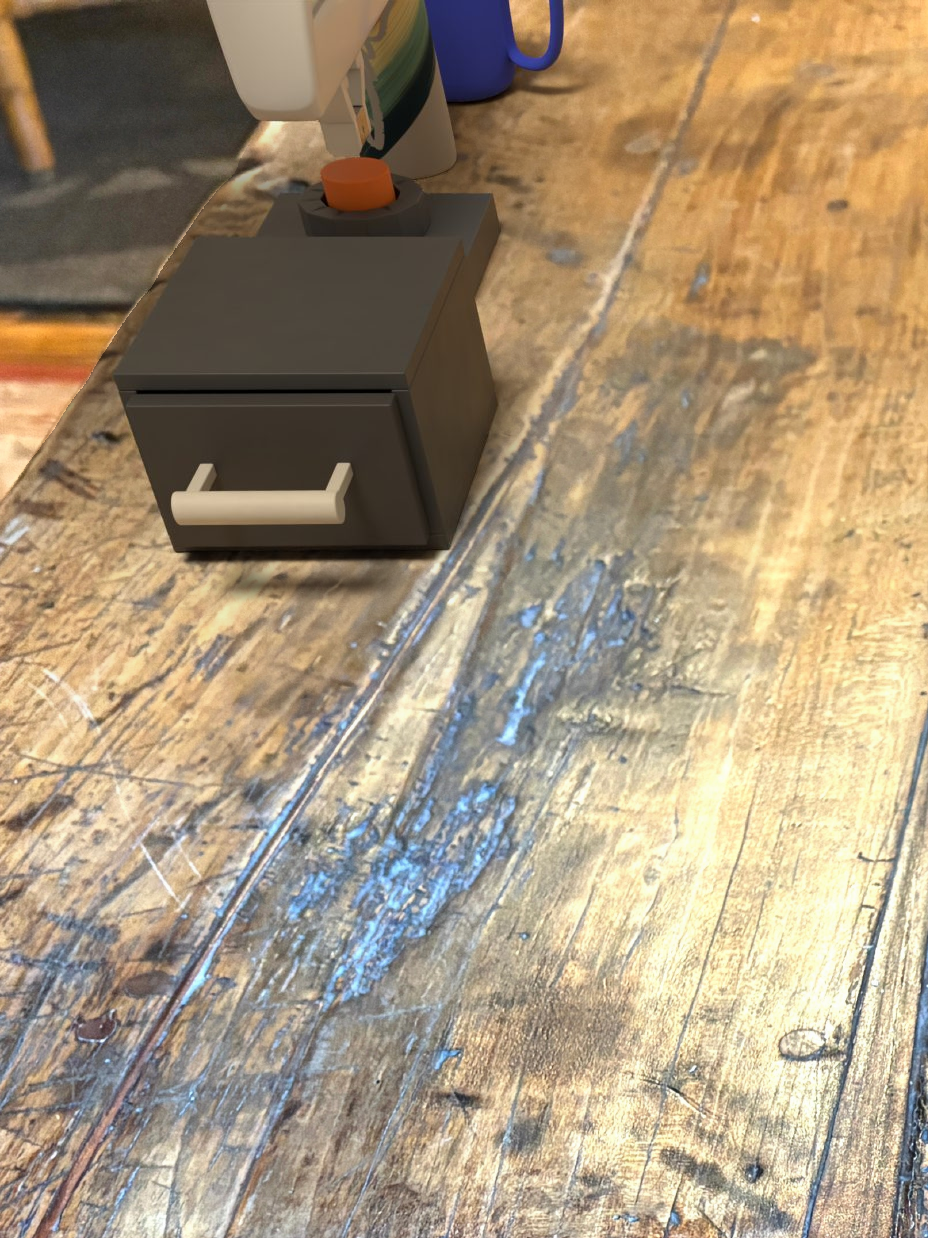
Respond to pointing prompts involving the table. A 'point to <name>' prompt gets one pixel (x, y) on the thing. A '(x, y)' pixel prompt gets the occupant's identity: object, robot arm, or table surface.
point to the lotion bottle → (406, 94)
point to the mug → (484, 46)
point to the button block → (394, 219)
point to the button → (357, 184)
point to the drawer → (280, 467)
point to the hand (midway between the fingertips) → (351, 146)
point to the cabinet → (332, 344)
